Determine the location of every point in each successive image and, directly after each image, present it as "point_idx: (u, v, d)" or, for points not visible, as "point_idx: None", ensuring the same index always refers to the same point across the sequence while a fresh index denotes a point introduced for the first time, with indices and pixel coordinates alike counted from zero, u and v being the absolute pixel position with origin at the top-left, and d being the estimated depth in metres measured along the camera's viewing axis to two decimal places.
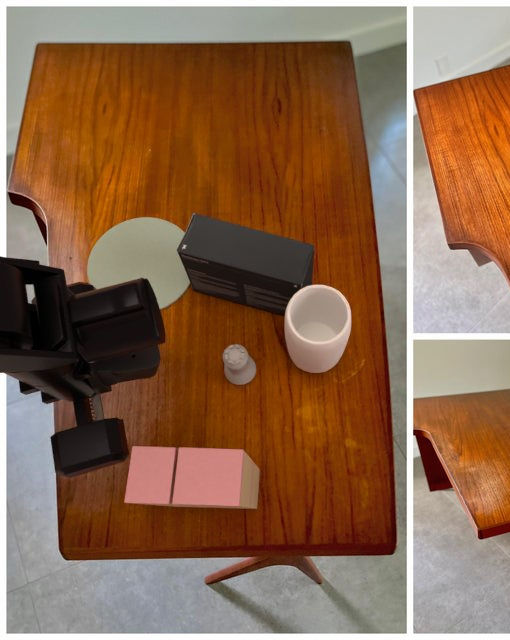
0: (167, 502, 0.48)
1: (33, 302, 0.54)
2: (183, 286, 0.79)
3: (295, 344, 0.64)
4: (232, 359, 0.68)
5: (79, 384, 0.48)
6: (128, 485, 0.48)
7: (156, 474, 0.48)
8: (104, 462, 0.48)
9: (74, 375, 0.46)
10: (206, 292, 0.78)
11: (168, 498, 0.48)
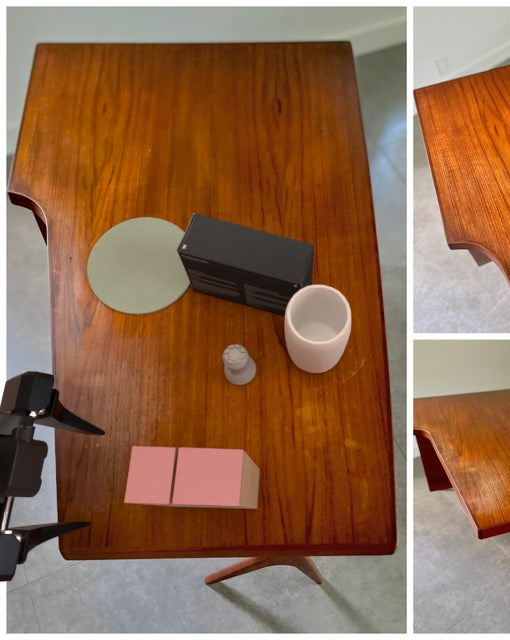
0: (167, 502, 0.48)
1: None
2: (183, 286, 0.79)
3: (295, 344, 0.64)
4: (232, 359, 0.68)
5: None
6: (128, 485, 0.48)
7: (156, 474, 0.48)
8: None
9: None
10: (206, 292, 0.78)
11: (168, 498, 0.48)
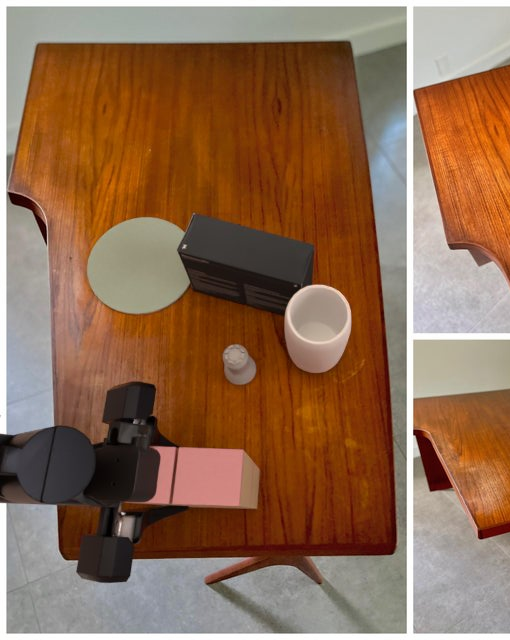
0: (167, 502, 0.48)
1: None
2: (183, 286, 0.79)
3: (295, 344, 0.64)
4: (232, 359, 0.68)
5: (77, 501, 0.49)
6: None
7: None
8: (98, 581, 0.48)
9: None
10: (206, 292, 0.78)
11: (168, 498, 0.48)
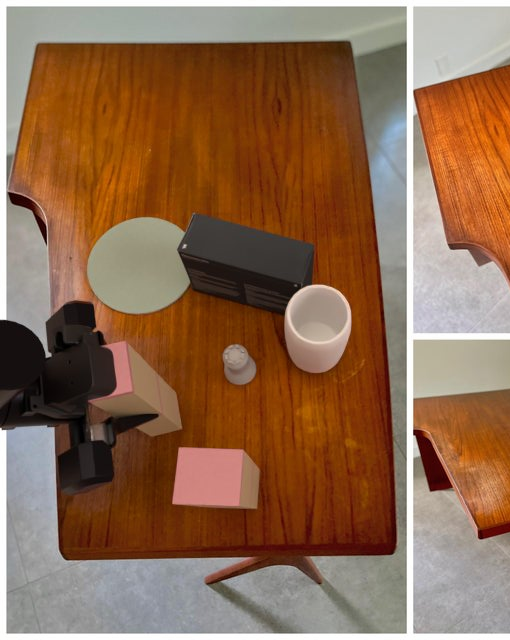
0: (130, 390, 0.48)
1: None
2: (183, 286, 0.79)
3: (295, 344, 0.64)
4: (232, 359, 0.68)
5: (41, 416, 0.49)
6: None
7: None
8: (83, 487, 0.49)
9: (20, 413, 0.47)
10: (206, 291, 0.78)
11: (130, 386, 0.49)
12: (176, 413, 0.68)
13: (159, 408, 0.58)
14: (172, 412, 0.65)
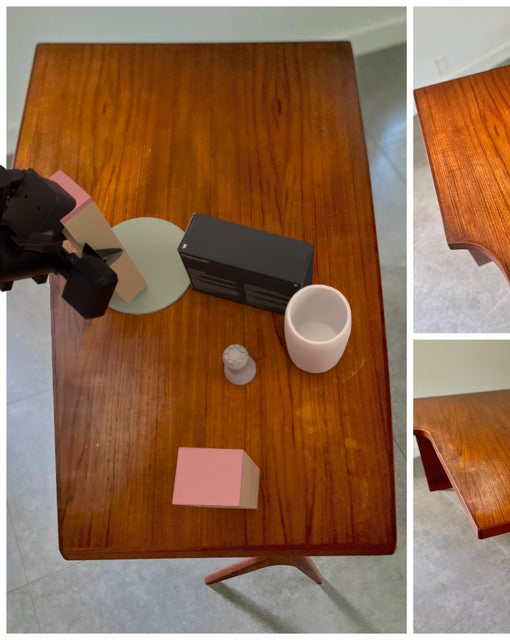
0: (89, 196, 0.55)
1: None
2: (183, 286, 0.79)
3: (295, 344, 0.64)
4: (232, 359, 0.68)
5: (29, 257, 0.54)
6: None
7: None
8: (98, 292, 0.56)
9: (11, 255, 0.52)
10: (206, 291, 0.78)
11: (87, 194, 0.56)
12: None
13: (119, 242, 0.65)
14: None
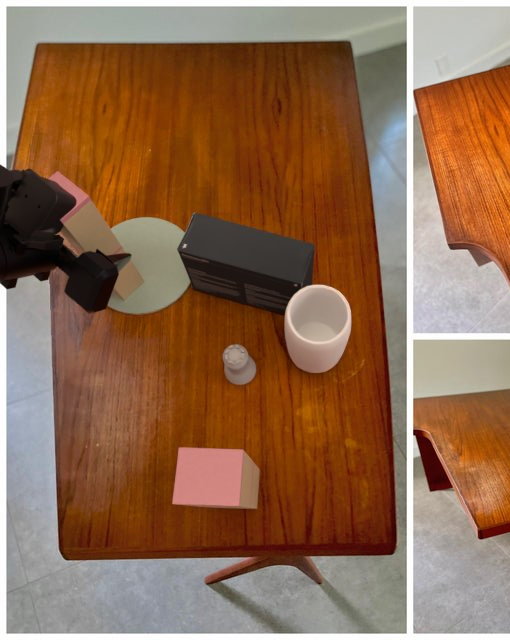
0: (87, 196, 0.58)
1: None
2: (183, 286, 0.79)
3: (295, 344, 0.64)
4: (232, 359, 0.68)
5: (31, 254, 0.56)
6: None
7: None
8: (100, 286, 0.58)
9: (14, 253, 0.54)
10: (206, 291, 0.78)
11: (85, 193, 0.58)
12: None
13: (116, 240, 0.67)
14: None
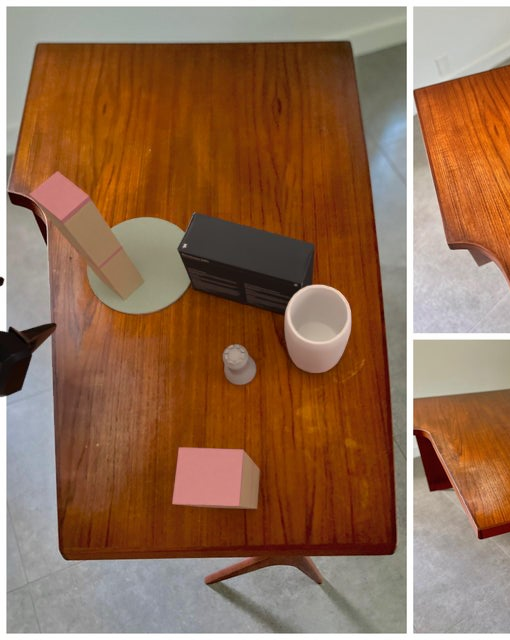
0: (87, 196, 0.58)
1: None
2: (183, 286, 0.79)
3: (295, 344, 0.64)
4: (232, 359, 0.68)
5: None
6: (52, 211, 0.57)
7: (62, 191, 0.58)
8: (9, 370, 0.53)
9: None
10: (206, 291, 0.78)
11: (85, 193, 0.58)
12: None
13: (116, 240, 0.67)
14: None
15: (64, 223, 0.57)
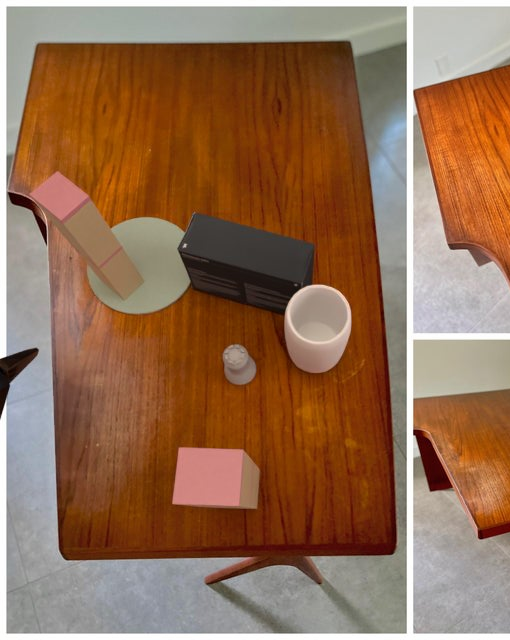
0: (87, 196, 0.58)
1: None
2: (183, 286, 0.79)
3: (295, 344, 0.64)
4: (232, 359, 0.68)
5: None
6: (52, 211, 0.57)
7: (62, 191, 0.58)
8: None
9: None
10: (206, 291, 0.78)
11: (85, 193, 0.58)
12: None
13: (116, 240, 0.67)
14: None
15: (64, 223, 0.57)
